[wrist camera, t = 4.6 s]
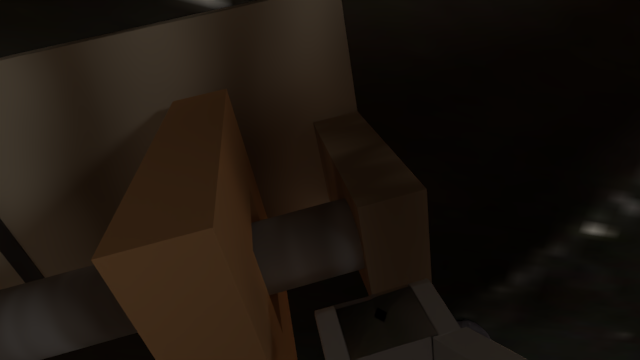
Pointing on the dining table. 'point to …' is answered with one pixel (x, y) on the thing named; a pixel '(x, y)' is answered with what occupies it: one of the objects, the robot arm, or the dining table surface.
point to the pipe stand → (138, 133)
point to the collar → (195, 244)
